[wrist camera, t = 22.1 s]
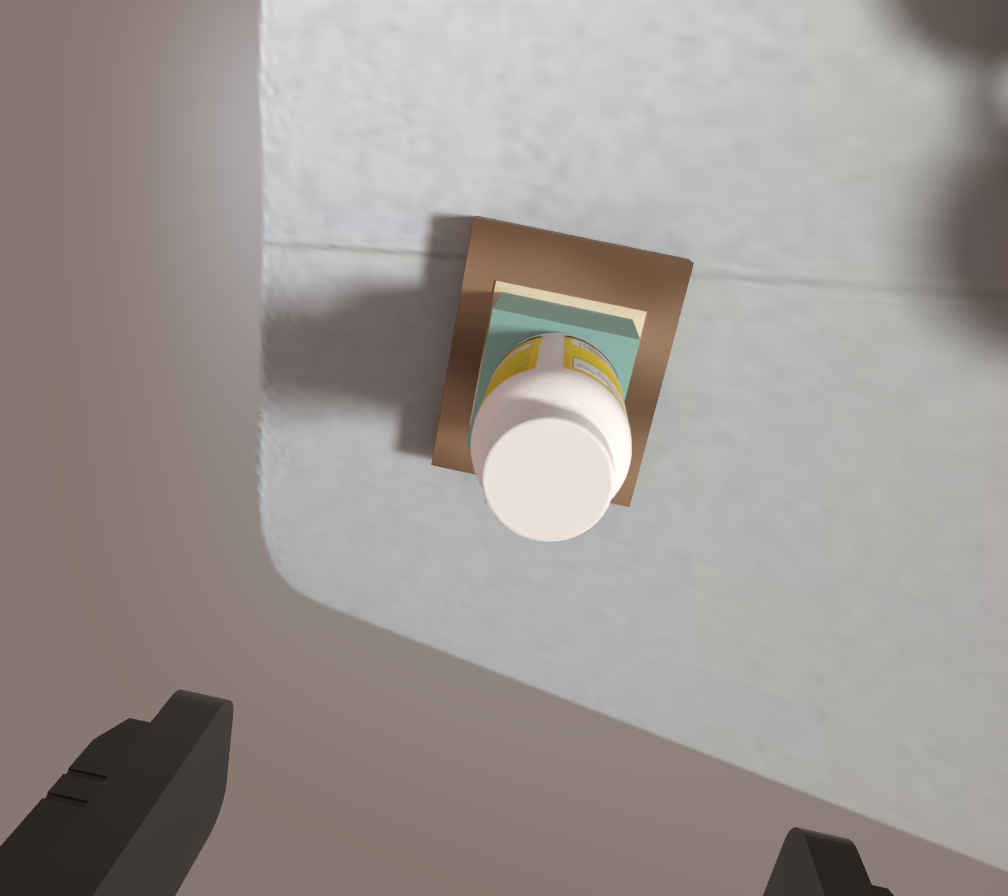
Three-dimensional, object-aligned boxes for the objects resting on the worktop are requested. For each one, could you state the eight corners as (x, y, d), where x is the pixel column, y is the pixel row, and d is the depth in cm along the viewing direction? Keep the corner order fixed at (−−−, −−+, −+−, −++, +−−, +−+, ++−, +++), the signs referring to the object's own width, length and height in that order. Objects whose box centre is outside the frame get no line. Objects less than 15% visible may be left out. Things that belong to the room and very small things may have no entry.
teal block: (504, 292, 37) (492, 308, 32) (632, 319, 37) (640, 340, 32) (480, 415, 39) (466, 447, 34) (602, 441, 39) (605, 477, 34)
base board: (479, 216, 38) (473, 218, 36) (688, 259, 38) (693, 263, 36) (438, 452, 42) (431, 465, 40) (627, 492, 42) (629, 507, 40)
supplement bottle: (489, 456, 34) (455, 558, 25) (490, 328, 33) (454, 387, 23) (618, 461, 34) (632, 567, 25) (626, 332, 32) (645, 394, 23)
